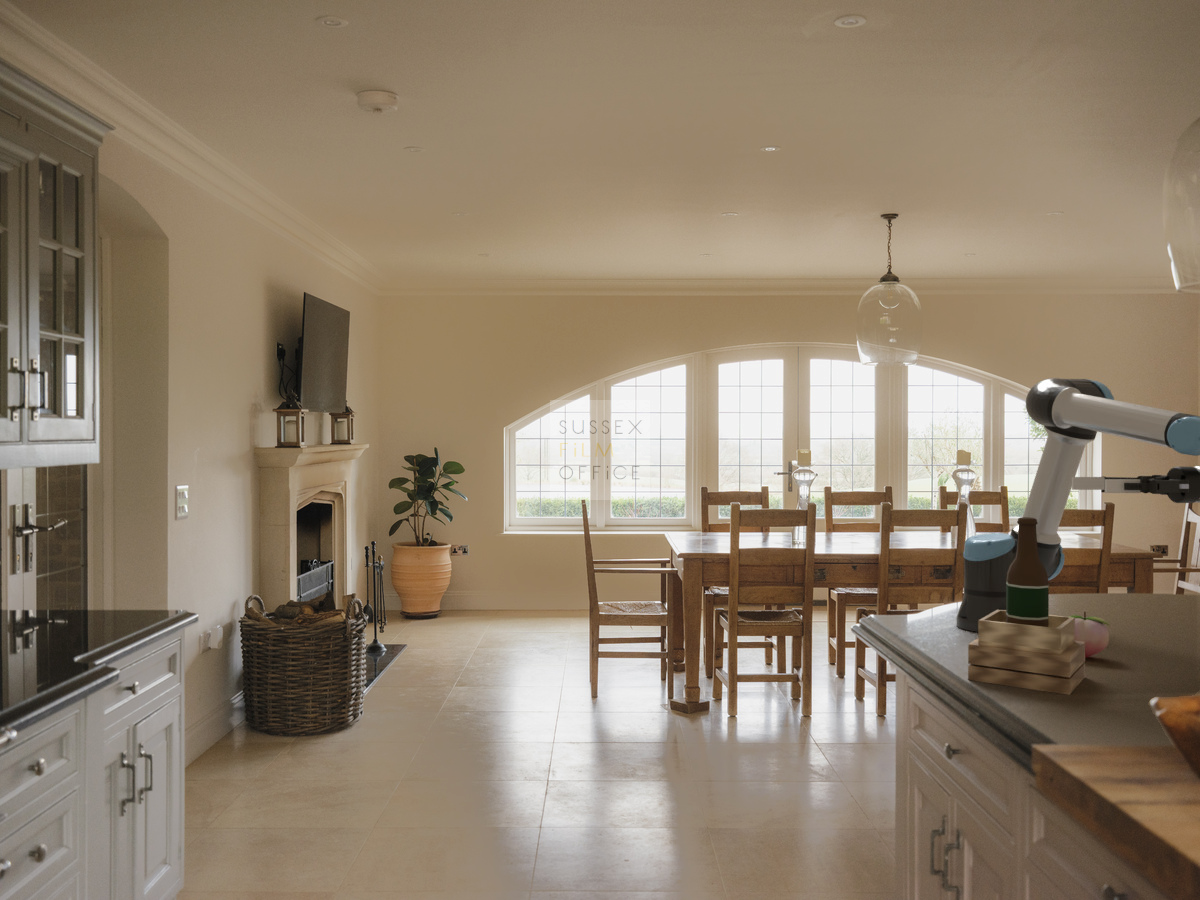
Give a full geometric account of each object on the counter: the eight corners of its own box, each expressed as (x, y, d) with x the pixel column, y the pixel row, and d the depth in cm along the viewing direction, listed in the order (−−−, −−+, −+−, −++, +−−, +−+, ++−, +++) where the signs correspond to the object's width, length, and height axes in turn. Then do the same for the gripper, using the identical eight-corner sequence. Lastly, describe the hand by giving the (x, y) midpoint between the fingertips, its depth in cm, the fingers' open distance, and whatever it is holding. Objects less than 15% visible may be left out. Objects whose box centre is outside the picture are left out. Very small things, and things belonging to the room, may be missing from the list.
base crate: (968, 679, 180) (968, 644, 179) (989, 664, 192) (989, 630, 192) (1069, 694, 169) (1069, 656, 169) (1084, 677, 181) (1084, 642, 181)
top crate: (978, 644, 179) (978, 620, 179) (997, 632, 191) (997, 609, 191) (1060, 654, 170) (1060, 629, 170) (1074, 641, 182) (1074, 617, 182)
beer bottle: (1011, 633, 186) (1011, 515, 186) (1053, 638, 181) (1053, 517, 181) (1000, 639, 180) (1000, 518, 180) (1043, 645, 175) (1043, 520, 175)
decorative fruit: (1110, 656, 200) (1110, 610, 200) (1109, 663, 193) (1109, 616, 193) (1062, 651, 204) (1062, 606, 204) (1059, 658, 197) (1059, 612, 197)
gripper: (1233, 507, 175) (1121, 506, 176) (1158, 499, 200) (1060, 499, 201) (1233, 468, 175) (1121, 468, 176) (1158, 465, 200) (1060, 465, 201)
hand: (1088, 484), depth 188 cm, fingers open, 13 cm apart
